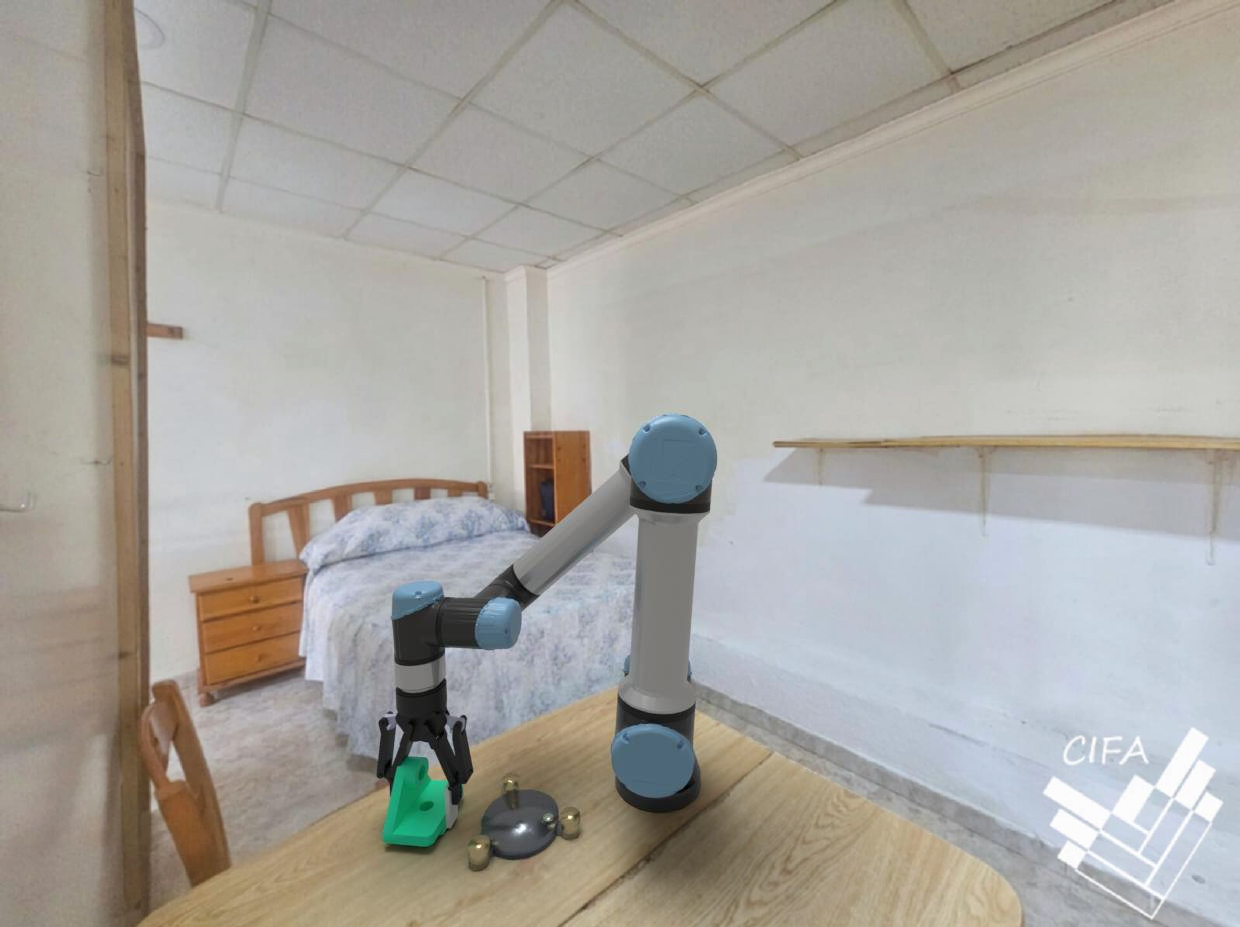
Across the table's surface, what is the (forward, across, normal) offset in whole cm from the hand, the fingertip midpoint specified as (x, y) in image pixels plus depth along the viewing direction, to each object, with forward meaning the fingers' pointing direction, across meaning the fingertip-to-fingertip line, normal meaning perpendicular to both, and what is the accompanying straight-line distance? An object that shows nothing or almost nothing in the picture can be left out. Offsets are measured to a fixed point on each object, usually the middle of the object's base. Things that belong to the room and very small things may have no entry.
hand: (427, 819), depth 83 cm
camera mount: (+1, 0, 0) cm, 1 cm away
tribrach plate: (+1, -17, 0) cm, 17 cm away
